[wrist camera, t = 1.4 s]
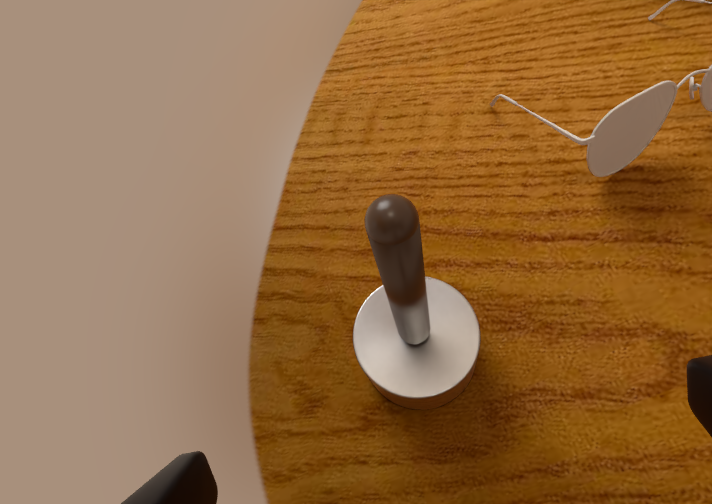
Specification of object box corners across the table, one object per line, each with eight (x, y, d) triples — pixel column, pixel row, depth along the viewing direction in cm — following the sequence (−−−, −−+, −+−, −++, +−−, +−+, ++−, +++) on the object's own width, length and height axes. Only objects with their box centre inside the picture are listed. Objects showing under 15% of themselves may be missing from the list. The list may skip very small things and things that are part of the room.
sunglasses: (574, 197, 24) (588, 124, 21) (482, 126, 30) (480, 57, 26) (771, 82, 26) (819, -6, 22) (649, 34, 31) (671, -45, 27)
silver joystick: (443, 434, 20) (438, 362, 9) (342, 371, 22) (235, 250, 11) (496, 330, 22) (547, 160, 11) (398, 282, 24) (354, 98, 13)
